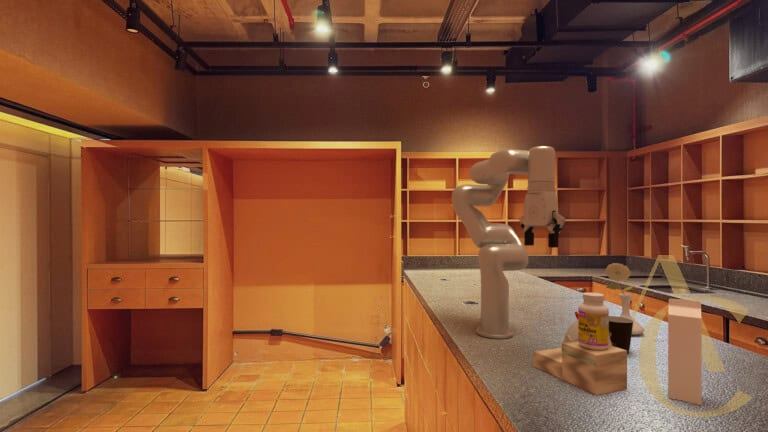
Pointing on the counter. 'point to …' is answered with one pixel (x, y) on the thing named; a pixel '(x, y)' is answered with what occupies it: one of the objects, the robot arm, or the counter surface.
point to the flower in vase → (619, 274)
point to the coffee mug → (620, 332)
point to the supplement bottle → (593, 322)
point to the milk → (685, 350)
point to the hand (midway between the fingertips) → (540, 246)
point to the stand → (586, 366)
